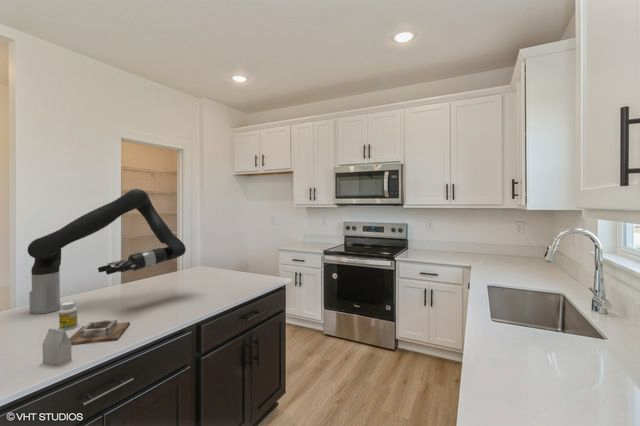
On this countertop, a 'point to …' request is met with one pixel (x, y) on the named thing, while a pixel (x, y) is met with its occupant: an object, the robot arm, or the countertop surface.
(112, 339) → the holder board
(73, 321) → the supplement bottle
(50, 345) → the grey gable-top carton
